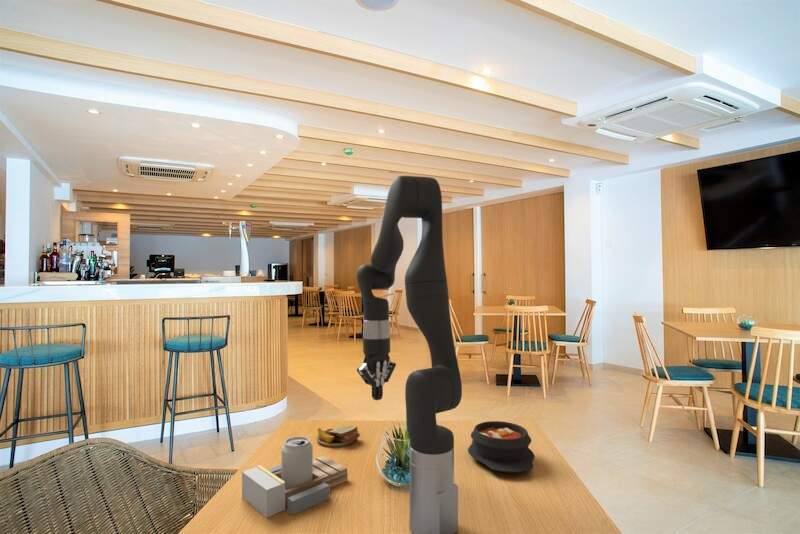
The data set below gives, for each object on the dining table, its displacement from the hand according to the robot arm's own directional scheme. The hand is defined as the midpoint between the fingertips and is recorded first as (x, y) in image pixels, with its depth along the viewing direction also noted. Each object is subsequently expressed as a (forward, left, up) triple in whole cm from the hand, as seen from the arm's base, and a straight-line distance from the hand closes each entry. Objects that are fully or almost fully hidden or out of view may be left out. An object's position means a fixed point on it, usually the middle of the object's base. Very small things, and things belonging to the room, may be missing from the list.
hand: (377, 399), depth 118 cm
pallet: (+5, +19, -19) cm, 27 cm away
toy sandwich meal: (+23, -4, -19) cm, 30 cm away
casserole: (-21, -29, -19) cm, 40 cm away
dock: (+5, +26, -19) cm, 32 cm away
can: (+5, +22, -19) cm, 29 cm away
